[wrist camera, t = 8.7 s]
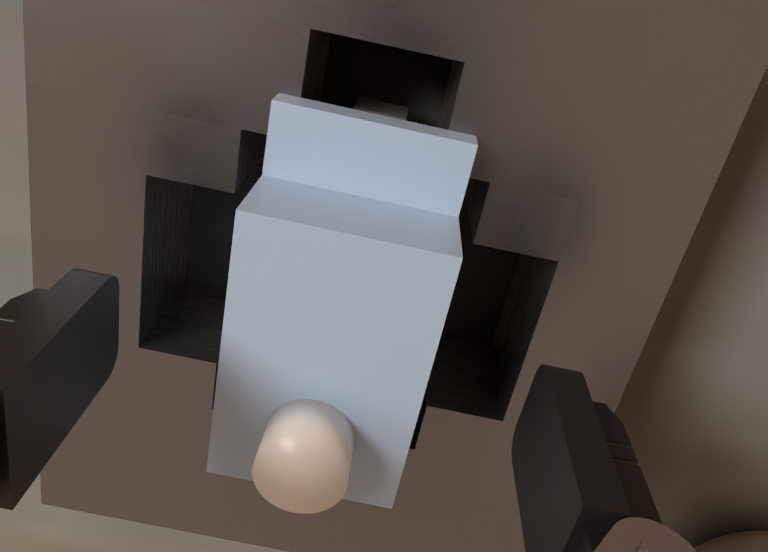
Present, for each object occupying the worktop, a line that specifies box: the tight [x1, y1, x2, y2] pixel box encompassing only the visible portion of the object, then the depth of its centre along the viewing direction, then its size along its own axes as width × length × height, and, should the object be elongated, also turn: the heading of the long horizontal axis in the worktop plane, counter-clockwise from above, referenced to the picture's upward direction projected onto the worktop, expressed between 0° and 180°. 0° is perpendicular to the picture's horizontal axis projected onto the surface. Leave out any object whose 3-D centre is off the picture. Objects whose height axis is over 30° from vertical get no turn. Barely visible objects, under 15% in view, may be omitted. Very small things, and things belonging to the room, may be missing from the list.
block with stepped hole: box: [23, 0, 768, 552], centre depth 17 cm, size 16×14×4 cm
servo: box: [206, 93, 478, 514], centre depth 15 cm, size 9×4×7 cm, turn 168°
